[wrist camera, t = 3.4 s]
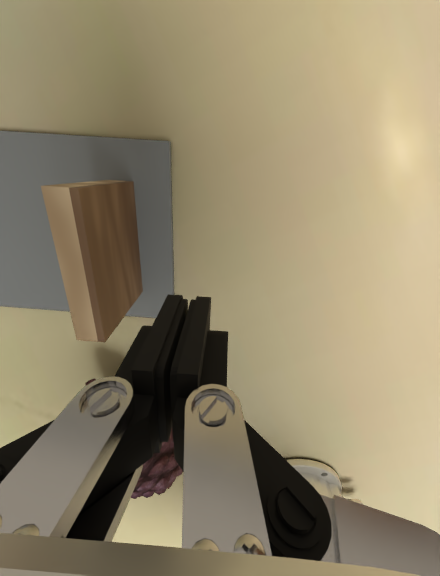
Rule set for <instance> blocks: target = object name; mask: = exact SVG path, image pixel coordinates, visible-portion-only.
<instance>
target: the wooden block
mask: <svg viewBox="0 0 440 576" xmlns="http://www.w3.org/2000/svg"><path fill="white" fill-rule="evenodd" d="M41 189H42V194H43V198H44V202H45V206H46V211H47V215H48V219H49V223H50V228H51V232H52V236H53V241H54V245H55V249H56V253H57V258H58V262H59V266H60V270H61V275H62V279H63V283H64V287H65V292H66V296H67V300H68V304H69V309H70V313H71V317H72V321H73V326H74V330H75V334H76V339H77V340H84V341H97V342H106V340H107V339H108V338H109V336H110V335H111V334H112V332H113V331H114V330H115V328H116V327H117V326H118V324H119V323H120V321H121V320H122V319H123V317H124V316H125V315H126V313H127V312H128V311H129V309H130V308H131V307H132V305H133V304H134V303H135V301H136V300H137V299H138V297H139V296H140V295H141V293H142V292H143V287H142V275H141V264H140V252H139V240H138V228H137V216H136V205H135V193H134V181H119V180H102V181H90V182H79V183H68V184H56V185H45V186H41Z"/></svg>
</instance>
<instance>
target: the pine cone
mask: <svg viewBox="0 0 440 576" xmlns="http://www.w3.org/2000/svg"><path fill="white" fill-rule="evenodd" d="M95 380H96V379H92V380H90V381H88V382H87V383H86V385H88V384H90V383H91V382H93V381H95ZM182 472H183V470H182V469H181V468H180V466H179V465H178V463H177V462H176V460H175V459H174V443H173V436H172V429H171V433H170V438H169V441H168V442H162V446H161V450H160V453H153V457H152V458H151V459H149V460H148V461H147V462H145V463H144V464H143V468H142V471H141V475H140V477H139V479H138V481H137V484H136V486H135V488H134V491H133V493H132V495H131V498H134V499H136V498H137V497H140V496H144V497H146V498H148V497H150V496H152V495H153V494H154V492H155V493H157V494H159V495H160V494H161V493H164V492H165V491H166V489H167V488H168V489H169V487H171V486H172V483H173V482H174V481H175V479H176V477H177V476H179V475H181V474H182Z"/></svg>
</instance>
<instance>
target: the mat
mask: <svg viewBox="0 0 440 576" xmlns="http://www.w3.org/2000/svg"><path fill="white" fill-rule="evenodd" d="M102 180H119V181H134V193H135V205H136V216H137V228H138V240H139V252H140V264H141V275H142V287H143V292H142V293H141V295H140V296H139V297H138V299H137V300H136V301H135V303H134V304H133V305H132V307H131V308H130V309H129V311H128V312H127V313H126V315H125V316H135V317H148V318H156V317H157V315H158V313H159V311H160V309H161V307H162V305H163V303H164V301H165V299H166V297H167V295H168V294H170V295H174V263H173V222H172V181H171V142H170V141H159V140H143V139H127V138H111V137H94V136H78V135H62V134H46V133H30V132H13V131H0V306H5V307H18V308H31V309H44V310H57V311H70V309H69V304H68V300H67V296H66V292H65V287H64V283H63V279H62V275H61V270H60V266H59V262H58V258H57V253H56V249H55V245H54V241H53V236H52V232H51V228H50V223H49V219H48V215H47V211H46V206H45V202H44V198H43V194H42V189H41V186H45V185H56V184H68V183H79V182H90V181H102Z"/></svg>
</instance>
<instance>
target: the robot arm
mask: <svg viewBox="0 0 440 576" xmlns="http://www.w3.org/2000/svg"><path fill="white" fill-rule="evenodd" d="M210 310H211V297H198V296H197V298H196V300H191V302H190V305H189V309H188V300H187V299H183V296H182V295H170V294H168V295H167V297H166V299H165V301H164V303H163V305H162V307H161V309H160V311H159V313H158V315H157V317H156V319H155V322H154V324H153V326H142V328H141V329H140V331H139V333H138V335H137V337H136V338H135V340H134V342H133V344H132V346H131V347H130V349H129V351H128V353H127V355H126V357H125V358H124V360H123V362H122V364H121V366H120V368H119V369H118V371H117V373H116V375H115V377H112V376H111V377H104V378H100V379H98V380H95V381H93V382H91V383H90V384H88V385H86V386H85V387H84V388H83V389H82V390H81V391H79V392H78V394H77V395H76V396H75V397H74V398H73V399H72V401H71V402H70V403H69V404H68V405H67V406H66V408H65V409H64V410H63V411H62V412H61V413H60V415H59V416H58V417H57V418H56V419H55V420H53V421H52V422H50V423H48V424H46V425H44V426H42V427H40V428H38V429H36V430H34V431H32V432H30V433H28V434H27V435H25V436H23V437H21V438H19V439H17V440H15V441H13V442H11V443H9V444H7V445H5V446H3V447H2V448H0V576H440V535H439V534H438V533H437V532H435V531H433V530H431V529H429V528H427V527H425V526H423V525H421V524H418V523H415V522H412V521H409V520H406V519H403V518H400V517H397V516H395V515H392V514H389V513H386V512H383V511H380V510H377V509H374V508H371V507H368V506H365V505H363V504H362V502H361V501H360V500H358V499H345V498H344V497H343V496H341V495H340V494H341V492H342V485H341V482H340V479H339V476H338V475H337V473H336V472H335V471H334V470H333V469H332V468H331V467H329V466H327V465H325V464H323V463H320V462H318V461H313V460H308V459H289V460H285V459H284V458H283V457H282V456H281V455H280V454H279V453H278V452H277V451H276V450H275V449H274V448H273V447H272V446H271V445H270V444H269V443H268V442H266V441H265V440H264V439H263V438H262V437H261V436H260V435H259V434H258V433H257V432H256V431H255V430H254V429H253V428H252V427H251V426H250V425H249V424H248V423H247V422H246V421H245V420H244V417H243V412H242V408H241V404H240V401H239V399H238V397H237V396H236V394H235V393H234V392H233V391H232V390H230V389H229V388H227V349H228V332H225V331H211V330H210ZM171 429H172V436H173V443H174V459H175V460H176V462H177V463H178V465H179V466H180V468H181V469H182V470H183V472H184V476H183V523H182V548H175V547H164V546H152V545H141V544H129V543H117V542H112V539H113V537H114V535H115V532H116V530H117V528H118V525H119V523H120V521H121V519H122V516H123V514H124V512H125V509H126V507H127V505H128V502H129V500H130V498H131V495H132V493H133V491H134V488H135V486H136V484H137V481H138V479H139V477H140V475H141V471H142V468H143V464H144V463H145V462H147V461H148V460H149V459H151V458H152V457H153V453H160V450H161V446H162V442H168V441H169V438H170V433H171Z"/></svg>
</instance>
